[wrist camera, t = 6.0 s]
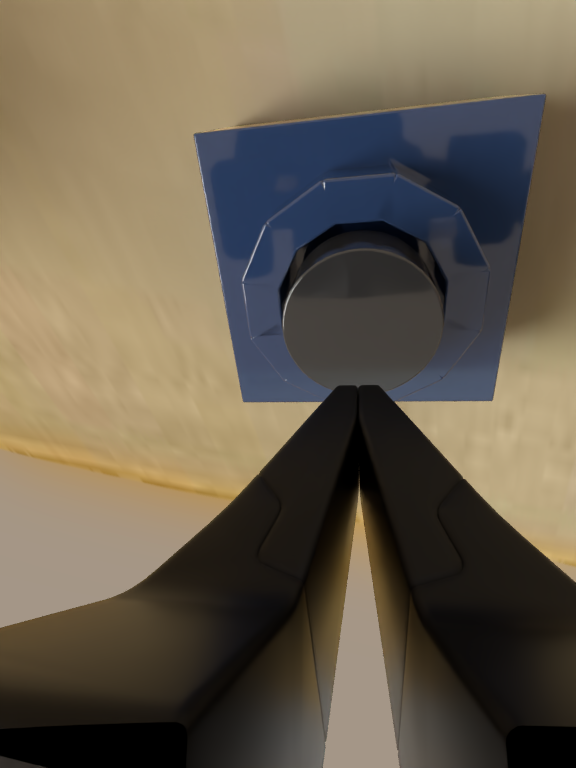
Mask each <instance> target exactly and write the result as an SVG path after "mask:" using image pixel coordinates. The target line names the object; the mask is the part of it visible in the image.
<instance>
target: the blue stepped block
mask: <svg viewBox="0 0 576 768" xmlns="http://www.w3.org/2000/svg"><path fill="white" fill-rule="evenodd" d="M545 100H546V94H544V93H543V94H526V95H509V96H494V97H486V98H477V99H468V100H459V101H451V102H442V103H433V104H425V105H416V106H407V107H398V108H390V109H381V110H372V111H364V112H355V113H346V114H337V115H329V116H320V117H311V118H302V119H294V120H285V121H276V122H268V123H259V124H250V125H241V126H233V127H227V128H221V129H216V130H210V131H204V132H199V133H195V134H194V140H195V145H196V151H197V156H198V162H199V167H200V172H201V178H202V183H203V188H204V194H205V199H206V205H207V210H208V215H209V221H210V226H211V232H212V237H213V242H214V248H215V253H216V259H217V264H218V269H219V275H220V280H221V285H222V291H223V296H224V302H225V307H226V312H227V318H228V323H229V329H230V334H231V339H232V345H233V350H234V356H235V361H236V366H237V372H238V377H239V382H240V388H241V393H242V399H243V402H323V401H324V400H325V399H326V398H327V397H328V396H329V394H330V393H331V392H332V391H333V390H331V389H328V388H326V387H324V386H322V385H320V384H318V383H316V382H315V381H313V380H312V379H310V378H309V377H308V376H307V375H306V374H305V373H303V372H302V371H301V369H300V368H299V367H298V366H297V365H296V363H295V362H294V360H293V359H292V357H291V356H290V354H289V352H288V350H287V347H286V344H285V341H284V337H283V331H282V317H283V310H284V306H285V302H286V299H287V297H288V294H289V291H290V289H291V286H292V283H293V281H294V278H295V276H296V273H297V271H298V269H299V267H300V265H301V264H302V262H303V261H304V260H305V258H306V257H307V256H308V255H309V254H310V253H311V252H312V251H313V250H314V249H315V248H316V247H317V246H319V245H320V244H321V243H323V242H324V241H326V240H328V239H329V238H331V237H334V236H336V235H339V234H342V233H345V232H349V231H356V230H374V231H381V232H384V233H388V234H391V235H393V236H396V237H398V238H400V239H401V240H403V241H405V242H406V243H408V244H409V245H410V246H411V247H413V248H414V249H415V250H416V251H417V252H418V254H419V255H420V256H421V257H422V259H423V260H424V262H425V263H426V265H427V267H428V269H429V271H430V274H431V276H432V278H433V281H434V283H435V286H436V288H437V290H438V293H439V295H440V298H441V302H442V305H443V312H444V328H443V334H442V338H441V341H440V344H439V346H438V348H437V350H436V352H435V354H434V356H433V357H432V359H431V360H430V362H429V363H428V364H427V365H426V367H425V368H424V369H423V370H422V371H421V372H420V373H419V374H417V375H416V376H415V377H414V378H412V379H411V380H409V381H408V382H406V383H405V384H403V385H401V386H399V387H397V388H394V389H392V390H389V391H385V392H386V393H387V395H388V396H389V397H390V398H391V399H392V400H393V401H394V402H395V401H492V400H493V396H494V391H495V385H496V379H497V374H498V368H499V362H500V356H501V351H502V345H503V339H504V334H505V328H506V322H507V316H508V311H509V305H510V299H511V294H512V288H513V282H514V277H515V271H516V265H517V259H518V254H519V248H520V242H521V237H522V231H523V225H524V219H525V214H526V208H527V202H528V197H529V191H530V185H531V180H532V174H533V168H534V162H535V157H536V151H537V145H538V140H539V134H540V128H541V123H542V117H543V111H544V105H545Z"/></svg>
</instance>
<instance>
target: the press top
mask: <svg viewBox="0 0 576 768" xmlns="http://www.w3.org/2000/svg"><path fill="white" fill-rule="evenodd" d="M443 328H444V312H443V305H442V302H441V298H440V295H439V293H438V290H437V288H436V286H435V283H434V281H433V278H432V276H431V274H430V271H429V269H428V267H427V265H426V263H425V262H424V260H423V259H422V257H421V256H420V255H419V254H418V252H417V251H416V250H415V249H414V248H413V247H411V246H410V245H409V244H408V243H406V242H405V241H403V240H401V239H400V238H398V237H396V236H393V235H391V234H388V233H384V232H381V231H374V230H356V231H349V232H345V233H342V234H339V235H336V236H334V237H331V238H329V239H328V240H326V241H324V242H323V243H321V244H320V245H319V246H317V247H316V248H315V249H314V250H313V251H312V252H311V253H310V254H309V255H308V256H307V257H306V258H305V260H304V261H303V262H302V264H301V265H300V267H299V269H298V271H297V273H296V276H295V278H294V281H293V283H292V286H291V289H290V291H289V294H288V297H287V299H286V302H285V306H284V310H283V317H282V331H283V337H284V341H285V344H286V347H287V350H288V352H289V354H290V356H291V357H292V359H293V360H294V362H295V363H296V365H297V366H298V367H299V368H300V369H301V371H302V372H303V373H305V374H306V375H307V376H308V377H309V378H310V379H312V380H313V381H315V382H316V383H318V384H320V385H322V386H324V387H326V388H328V389H331V390H334V389H335V388H336V387H337V386H339V385H355V386H357V387H359V386H360V385H379V386H380V387H381V388H382V389H383V390H384V391H389V390H392V389H394V388H397V387H399V386H401V385H403V384H405V383H406V382H408V381H409V380H411V379H412V378H414V377H415V376H416V375H417V374H419V373H420V372H421V371H422V370H423V369H424V368H425V367H426V365H427V364H428V363H429V362H430V360H431V359H432V357H433V356H434V354H435V352H436V350H437V348H438V346H439V344H440V341H441V338H442V334H443Z"/></svg>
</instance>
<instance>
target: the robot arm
mask: <svg viewBox="0 0 576 768" xmlns="http://www.w3.org/2000/svg"><path fill="white" fill-rule="evenodd" d="M359 484H360V497H361V505H362V512H363V519H364V526H365V532H366V539H367V545H368V553H369V560H370V566H371V573H372V580H373V587H374V594H375V600H376V608H377V614H378V621H379V628H380V635H381V642H382V648H383V655H384V662H385V669H386V675H387V683H388V689H389V696H390V703H391V710H392V717H393V724H394V730H395V737H396V744H397V750H398V758H399V765H400V768H576V582H574V581H573V580H572V579H571V578H570V577H569V576H568V575H566V574H565V573H564V572H563V571H562V570H561V569H560V568H558V567H557V566H556V565H555V564H554V563H553V562H552V561H550V560H549V559H548V558H547V557H546V556H545V555H544V554H542V553H541V552H540V551H539V550H538V549H537V548H536V547H534V546H533V545H532V544H531V543H530V542H529V541H528V540H526V539H525V538H524V537H523V536H522V535H521V534H520V533H519V532H517V531H516V530H515V529H514V528H513V527H512V526H511V525H510V524H509V523H508V522H507V521H505V520H504V519H503V518H502V517H501V516H500V515H499V514H498V513H497V512H496V511H495V510H494V509H493V508H492V507H491V506H490V505H489V504H488V503H487V502H486V501H485V500H484V499H483V498H482V497H481V496H480V495H479V494H478V493H477V492H476V491H475V489H474V488H473V487H472V486H471V485H470V484H469V483H468V482H467V481H466V480H465V479H463V477H462V475H461V474H460V473H459V472H458V471H457V470H456V469H455V468H454V467H453V466H452V465H451V463H450V462H449V461H448V460H447V459H446V458H445V457H444V456H443V455H442V454H441V453H440V451H439V450H438V449H437V448H436V447H435V446H434V445H433V444H432V443H431V442H430V440H429V439H428V438H427V437H426V436H425V435H424V434H423V433H422V432H421V431H420V430H419V428H418V427H417V426H416V425H415V424H414V423H413V422H412V421H411V420H410V419H409V418H408V416H407V415H406V414H405V413H404V412H403V411H402V410H401V409H400V408H399V407H398V406H397V404H396V403H395V402H394V401H393V400H392V399H391V398H390V397H389V396H388V395H387V393H386V392H385V391H384V390H383V389H382V388H381V387H380V386H379V385H360V386H359V387H357V386H355V385H339V386H337V387H336V388H335V389H334V390H333V391H332V392H331V393H330V394H329V396H328V397H327V398H326V399H325V400H324V401H323V402H322V403H321V404H320V406H319V407H318V408H317V409H316V410H315V411H314V412H313V413H312V415H311V416H310V417H309V418H308V419H307V420H306V421H305V422H304V423H303V425H302V426H301V427H300V428H299V429H298V430H297V431H296V432H295V433H294V435H293V436H292V437H291V438H290V439H289V440H288V441H287V442H286V444H285V445H284V446H283V447H282V448H281V449H280V450H279V451H278V452H277V454H276V455H275V456H274V457H273V458H272V459H271V460H270V461H269V462H268V464H267V465H266V466H265V467H264V468H263V469H262V470H261V471H260V473H259V475H257V476H256V477H255V478H254V479H253V480H252V481H251V482H250V483H249V485H248V486H247V487H246V488H245V489H244V490H243V491H242V492H241V493H240V494H239V495H238V496H237V497H236V498H235V499H234V500H233V501H232V502H231V503H230V504H229V505H228V506H227V507H226V508H225V509H224V510H223V511H222V512H221V513H220V514H219V515H218V516H217V517H215V518H214V519H213V520H212V521H211V522H210V523H209V524H208V525H207V526H206V527H204V528H203V529H202V530H201V531H200V532H199V533H198V534H196V535H195V536H194V537H193V538H192V539H191V540H190V541H189V542H188V543H186V544H185V545H184V546H183V547H182V548H181V549H179V550H178V551H177V552H176V553H175V554H174V555H173V556H172V557H170V558H169V559H168V560H167V561H166V562H165V563H164V564H162V565H161V566H160V567H159V568H158V569H157V570H156V571H155V572H153V573H152V574H151V575H149V576H148V577H147V578H146V579H144V580H143V581H142V582H140V583H139V584H137V585H136V586H134V587H133V588H131V589H129V590H128V591H126V592H124V593H121V594H119V595H117V596H114V597H112V598H109V599H106V600H102V601H99V602H95V603H91V604H87V605H84V606H80V607H76V608H72V609H69V610H66V611H62V612H58V613H54V614H50V615H46V616H43V617H39V618H35V619H32V620H28V621H24V622H21V623H17V624H13V625H10V626H6V627H2V628H0V768H323V761H324V753H325V742H326V738H327V730H328V722H329V715H330V708H331V700H332V693H333V685H334V677H335V670H336V662H337V654H338V647H339V640H340V632H341V624H342V617H343V609H344V602H345V593H346V587H347V579H348V571H349V564H350V556H351V548H352V541H353V534H354V526H355V518H356V511H357V503H358V494H359Z"/></svg>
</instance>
